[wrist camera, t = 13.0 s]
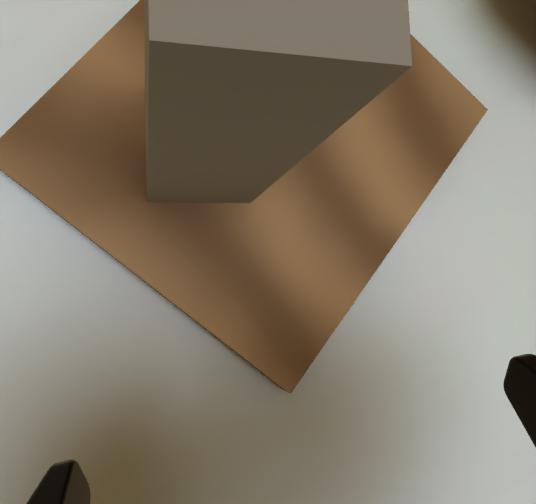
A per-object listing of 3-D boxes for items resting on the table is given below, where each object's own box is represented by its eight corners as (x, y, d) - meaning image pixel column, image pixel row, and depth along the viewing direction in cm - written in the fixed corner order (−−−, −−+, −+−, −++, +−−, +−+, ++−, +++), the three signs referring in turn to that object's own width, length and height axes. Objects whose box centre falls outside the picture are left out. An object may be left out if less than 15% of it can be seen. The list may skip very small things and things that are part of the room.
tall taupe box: (146, 202, 19) (149, 40, 7) (144, 87, 20) (142, -262, 7) (250, 202, 21) (411, 65, 8) (246, 95, 21) (394, -195, 8)
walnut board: (283, 389, 21) (290, 394, 20) (-10, 162, 19) (-18, 155, 18) (474, 116, 25) (487, 109, 24) (253, -99, 23) (258, -116, 22)
